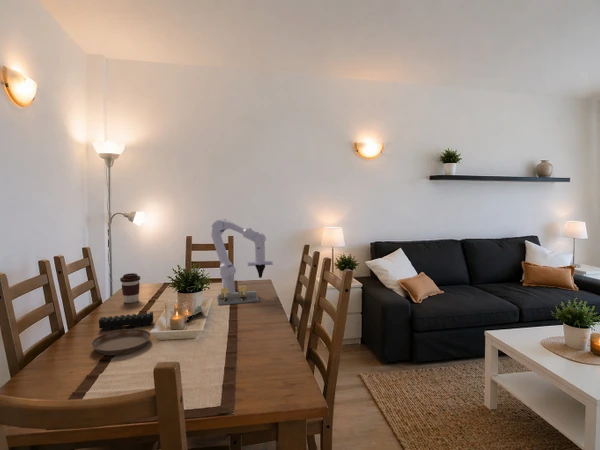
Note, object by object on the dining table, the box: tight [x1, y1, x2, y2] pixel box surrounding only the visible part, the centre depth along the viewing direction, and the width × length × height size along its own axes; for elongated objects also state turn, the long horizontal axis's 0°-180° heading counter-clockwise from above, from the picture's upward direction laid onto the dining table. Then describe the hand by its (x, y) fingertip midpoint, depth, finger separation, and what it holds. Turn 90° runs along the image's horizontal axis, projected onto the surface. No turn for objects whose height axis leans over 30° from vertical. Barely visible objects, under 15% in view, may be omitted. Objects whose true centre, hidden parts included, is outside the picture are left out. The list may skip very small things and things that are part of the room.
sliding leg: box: [238, 285, 248, 298], centre depth 198 cm, size 8×4×5 cm, turn 15°
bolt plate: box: [216, 294, 260, 306], centre depth 197 cm, size 14×22×1 cm, turn 105°
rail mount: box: [98, 311, 154, 332], centre depth 157 cm, size 21×6×5 cm, turn 109°
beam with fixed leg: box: [217, 287, 257, 301], centre depth 197 cm, size 8×21×5 cm, turn 105°
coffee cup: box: [119, 272, 141, 304], centre depth 194 cm, size 10×10×15 cm
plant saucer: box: [90, 328, 152, 356], centre depth 136 cm, size 21×21×3 cm
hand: (260, 277), depth 207 cm, fingers closed
